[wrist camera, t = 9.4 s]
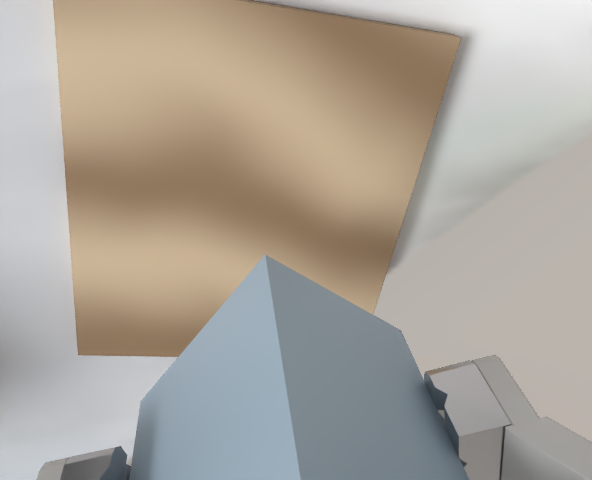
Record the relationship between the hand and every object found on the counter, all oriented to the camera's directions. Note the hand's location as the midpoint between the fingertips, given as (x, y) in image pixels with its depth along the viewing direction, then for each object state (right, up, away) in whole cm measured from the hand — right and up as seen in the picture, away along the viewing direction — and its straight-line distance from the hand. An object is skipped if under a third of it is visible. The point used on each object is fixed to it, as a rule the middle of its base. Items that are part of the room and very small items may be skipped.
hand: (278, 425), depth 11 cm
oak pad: (-2, +5, +8) cm, 10 cm away
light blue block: (0, +2, +3) cm, 4 cm away
